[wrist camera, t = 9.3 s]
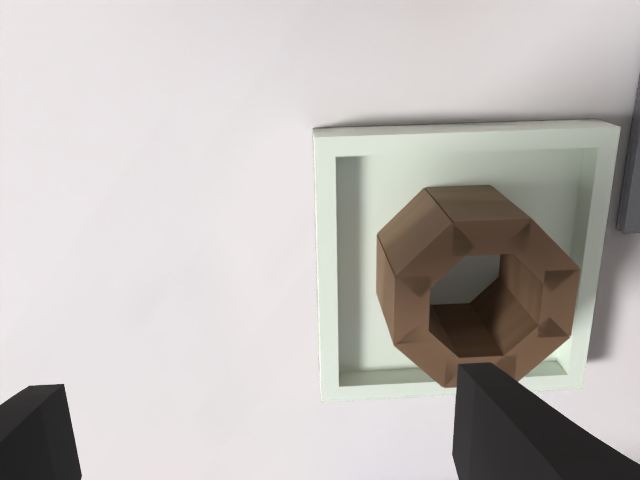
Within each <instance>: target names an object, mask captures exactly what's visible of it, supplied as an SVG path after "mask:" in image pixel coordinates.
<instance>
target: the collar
mask: <svg viewBox="0 0 640 480" xmlns="http://www.w3.org/2000/svg"><path fill="white" fill-rule="evenodd" d="M377 234H378V235H377V244H376V294H377V297H378V300H379V303H380V306H381V309H382V312H383V315H384V318H385V321H386V324H387V327H388V330H389V333H390V336H391V339H392V342H393V345H394V346H395V347H396V348H397V349H398V350H399V351H400V352H402V353H403V354H404V355H405V356H406V357H407V358H409V359H410V360H411V361H412V362H413V363H415V364H416V365H417V366H418V367H419V368H420V369H422V370H423V371H424V372H425V373H426V374H427V375H429V376H430V377H431V378H432V379H433V380H434V381H436V382H437V383H438V384H439V385H440V386H441V387H444V388H456V387H457V372H458V364H465V363H485V362H491V363H492V364H494V365H495V366H497V367H498V368H500V369H501V370H503V371H504V372H505V373H507V374H508V375H509V376H511V377H512V378H513V379H515V380H516V381H520V380H521V379H522V378H523V377H524V376H525V375H527V374H528V373H529V372H530V371H531V370H533V369H534V368H535V367H536V366H537V365H538V364H540V363H541V362H542V361H543V360H544V359H546V358H547V357H548V356H549V355H550V354H551V353H553V352H554V351H555V350H556V349H557V348H559V347H560V346H561V345H562V344H563V343H564V342H566V341H567V340H568V339H569V338H570V337H569V336H571V334H572V327H573V319H574V312H575V305H576V297H577V290H578V283H579V275H580V269H579V267H578V265H577V264H576V263H575V262H574V261H573V260H572V259H571V258H570V257H569V256H568V255H567V254H566V253H565V252H564V251H563V250H562V249H561V248H560V247H559V246H558V245H557V244H556V243H555V242H554V241H553V240H552V239H551V238H550V237H549V236H548V235H547V234H546V232H545V231H544V230H543V229H542V228H541V227H540V226H539V225H538V224H537V223H536V222H535V221H534V220H533V219H532V218H531V217H529V216H528V215H527V214H526V213H524V212H523V211H522V210H521V209H520V208H518V207H517V206H516V205H515V204H513V203H512V202H511V201H510V200H508V199H507V198H506V197H505V196H504V195H502V194H501V193H500V192H499V191H497V190H496V189H495V188H494V187H493V186H491V185H470V186H443V187H425V189H424V188H423V189H422V190H421V191H420V192H419V193H418V194H417V195H416V196H415V197H414V198H413V199H412V200H411V201H410V202H409V203H408V204H407V205H406V206H405V207H404V208H402V209H401V210H400V211H399V212H398V213H397V214H396V215H395V216H394V217H393V218H392V219H391V220H390V221H389V222H388V223H387V224H386V225H385V226H384V227H383V228H382V229H381V230H380V231H379V232H378V233H377ZM499 254H500V265H499V277H498V278H497V279H496V280H495V281H493V282H492V283H491V284H490V285H489V286H488V287H487V288H486V289H485V290H483V291H482V292H481V293H480V294H479V295H478V296H477V297H476V298H475V299H474V300H472V301H471V302H470V303H458V304H436V305H431V304H430V289H431V288H432V287H433V286H434V285H435V284H436V283H437V282H438V281H439V280H440V279H441V278H442V277H444V276H445V275H446V274H447V273H448V272H449V271H450V270H451V269H452V268H453V267H454V266H455V265H457V264H458V263H459V262H460V261H461V260H462V259H463V258H464V257H465V256H475V255H499Z"/></svg>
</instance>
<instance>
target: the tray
mask: <svg viewBox="0 0 640 480" xmlns="http://www.w3.org/2000/svg"><path fill="white" fill-rule="evenodd" d="M620 129H621V127H619V126H616V125H613V124H610V123H607V122H604V121H601V120H598V119H583V120H553V121H522V122H492V123H462V124H432V125H402V126H371V127H341V128H313V164H314V200H315V237H316V274H317V311H318V347H319V380H320V390H321V400H322V403H323V402H342V401H361V400H379V399H398V398H417V397H435V396H454V395H456V388H457V387H456V388H444V387H441V386H440V385H439V384H438V383H437V382H436V381H434V380H433V379H432V378H431V377H430V376H429V375H427V374H426V373H425V372H424V371H423V370H422V369H420V368H419V367H418V366H417V365H416V364H415V363H413V362H412V361H411V360H410V359H409V358H407V357H406V356H405V355H404V354H403V353H402V352H400V351H399V350H398V349H397V348H396V347H395V346H394V345H393V342H392V339H391V336H390V333H389V330H388V327H387V324H386V321H385V318H384V315H383V312H382V309H381V306H380V303H379V300H378V297H377V294H376V244H377V235H378V234H377V233H378V232H379V231H380V230H381V229H382V228H383V227H384V226H385V225H386V224H387V223H388V222H389V221H390V220H391V219H392V218H393V217H394V216H395V215H396V214H397V213H398V212H399V211H400V210H401V209H402V208H404V207H405V206H406V205H407V204H408V203H409V202H410V201H411V200H412V199H413V198H414V197H415V196H416V195H417V194H418V193H419V192H420V191H421V190H422V189H423V188H424V189H425V187H443V186H470V185H491V186H493V187H494V188H495V189H496V190H497V191H499V192H500V193H501V194H502V195H504V196H505V197H506V198H507V199H508V200H510V201H511V202H512V203H513V204H515V205H516V206H517V207H518V208H520V209H521V210H522V211H523V212H524V213H526V214H527V215H528V216H529V217H531V218H532V219H533V220H534V221H535V222H536V223H537V224H538V225H539V226H540V227H541V228H542V229H543V230H544V231H545V232H546V234H547V235H548V236H549V237H550V238H551V239H552V240H553V241H554V242H555V243H556V244H557V245H558V246H559V247H560V248H561V249H562V250H563V251H564V252H565V253H566V254H567V255H568V256H569V257H570V258H571V259H572V260H573V261H574V262H575V263H576V264H577V265H578V267H579V269H580V275H579V283H578V290H577V297H576V305H575V312H574V319H573V327H572V334H571V336H569V337H570V338H569V339H568V340H567V341H566V342H564V343H563V344H562V345H561V346H560V347H559V348H557V349H556V350H555V351H554V352H553V353H551V354H550V355H549V356H548V357H547V358H546V359H544V360H543V361H542V362H541V363H540V364H538V365H537V366H536V367H535V368H534V369H533V370H531V371H530V372H529V373H528V374H527V375H525V376H524V377H523V378H522V379H521V380H520V381H518V382H519V383H520V384H522V385H523V386H524V387H526V388H527V389H528V390H530V391H547V390H566V389H582V388H583V381H584V374H585V368H586V361H587V354H588V347H589V340H590V333H591V327H592V320H593V313H594V306H595V299H596V293H597V286H598V279H599V272H600V265H601V259H602V252H603V245H604V238H605V231H606V225H607V218H608V211H609V204H610V197H611V191H612V184H613V177H614V170H615V163H616V156H617V150H618V143H619V136H620ZM499 265H500V254H499V255H475V256H465V257H464V258H463V259H462V260H461V261H460V262H459V263H458V264H457V265H455V266H454V267H453V268H452V269H451V270H450V271H449V272H448V273H447V274H446V275H445V276H444V277H442V278H441V279H440V280H439V281H438V282H437V283H436V284H435V285H434V286H433V287H432V288H431V289H430V304H431V305H436V304H458V303H470V302H471V301H472V300H474V299H475V298H476V297H477V296H478V295H479V294H480V293H481V292H482V291H483V290H485V289H486V288H487V287H488V286H489V285H490V284H491V283H492V282H493V281H495V280H496V279H497V278H498V277H499Z"/></svg>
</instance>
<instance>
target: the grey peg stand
mask: <svg viewBox="0 0 640 480" xmlns="http://www.w3.org/2000/svg"><path fill="white" fill-rule="evenodd" d="M616 229H618V230H619V231H621V232H622V233H640V75H639V82H638V88H637V95H636V101H635V108H634V114H633V121H632V128H631V134H630V141H629V147H628V154H627V160H626V167H625V173H624V180H623V186H622V193H621V199H620V206H619V213H618V219H617V226H616Z"/></svg>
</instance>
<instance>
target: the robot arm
mask: <svg viewBox="0 0 640 480" xmlns="http://www.w3.org/2000/svg"><path fill="white" fill-rule="evenodd" d="M452 455H453V459H454V463H455V466H456V470H457V474H458V478H459V480H640V464H638V463H636V462H635V461H633V460H631V459H629V458H628V457H626V456H624V455H623V454H621V453H620V452H618V451H617V450H615V449H613V448H612V447H610V446H609V445H607V444H606V443H604V442H602V441H601V440H599V439H598V438H596V437H594V436H593V435H591V434H590V433H589V432H587V431H586V430H584V429H583V428H581V427H580V426H578V425H577V424H575V423H574V422H572V421H571V420H569V419H568V418H567V417H565V416H564V415H562V414H561V413H560V412H558V411H557V410H555V409H554V408H553V407H551V406H550V405H548V404H547V403H546V402H544V401H543V400H542V399H540V398H539V397H538V396H536V395H535V394H534V393H532V392H531V391H530V390H528V389H527V388H526V387H524V386H523V385H522V384H520V383H519V382H518V381H516V380H515V379H513V378H512V377H511V376H509V375H508V374H507V373H505V372H504V371H503V370H501V369H500V368H498V367H497V366H495V365H494V364H492V363H491V362H485V363H465V364H458V372H457V388H456V404H455V420H454V435H453V451H452ZM81 477H82V474H81V469H80V464H79V459H78V454H77V448H76V443H75V438H74V433H73V428H72V423H71V418H70V413H69V408H68V403H67V398H66V392H65V387H64V384H56V385H36V386H29V387H27V388H25V389H24V390H22V391H20V392H19V393H17V394H16V395H14V396H13V397H11V398H10V399H8V400H7V401H5V402H4V403H3V404H1V405H0V480H81Z"/></svg>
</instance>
